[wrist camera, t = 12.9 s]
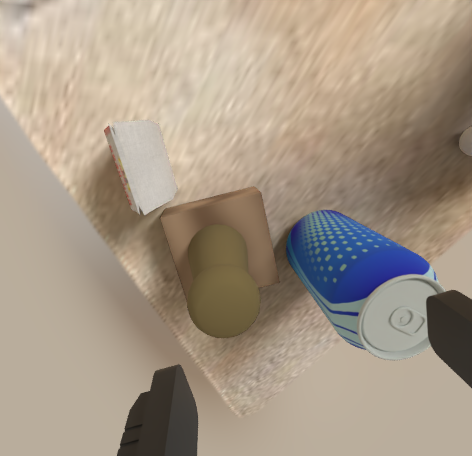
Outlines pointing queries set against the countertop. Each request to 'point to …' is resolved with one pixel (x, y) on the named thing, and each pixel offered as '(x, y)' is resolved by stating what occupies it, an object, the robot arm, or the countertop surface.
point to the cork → (221, 283)
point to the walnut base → (230, 214)
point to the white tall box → (142, 163)
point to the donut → (466, 141)
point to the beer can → (364, 283)
